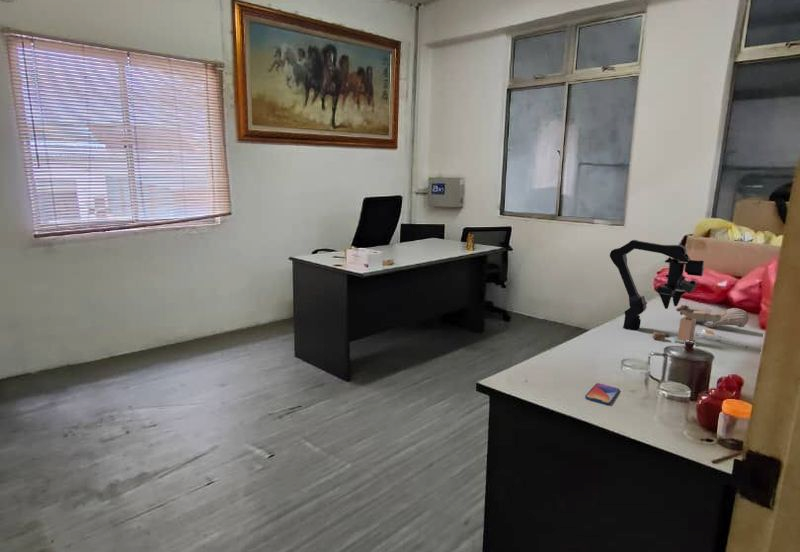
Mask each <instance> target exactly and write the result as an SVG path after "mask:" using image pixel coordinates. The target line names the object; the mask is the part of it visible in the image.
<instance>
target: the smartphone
mask: <svg viewBox="0 0 800 552" xmlns="http://www.w3.org/2000/svg"><path fill="white" fill-rule="evenodd" d="M619 393H620V388H618V387H615V386H611V385H607V384H603V383H595V385H593V386H592V387H591V388H590V390H589V391H588V392H587V393H586V395H584V398H585V400H587V401H591V402H595V403H599V404H601V405H604V406H605V405H606V406H610V405H611V404H612V403H613V401H614V400H615V398H616V397H617V396H618V394H619Z"/></svg>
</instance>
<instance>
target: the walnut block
mask: <svg viewBox="0 0 800 552" xmlns="http://www.w3.org/2000/svg"><path fill="white" fill-rule="evenodd" d="M665 334H666V333H664V332H662V331H661V332H660V331H653V334H652V339H653V341H658V342H665V340H666V337H665Z"/></svg>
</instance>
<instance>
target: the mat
mask: <svg viewBox="0 0 800 552" xmlns="http://www.w3.org/2000/svg"><path fill="white" fill-rule="evenodd" d="M673 338H674V343H675V344H681V345H684V344H683V343H684V341H681V340H678V339H677V338H678V335H677V336H676V335H674V336H673ZM693 342H695V345H696V346H697V342H696V339H694V338H693Z"/></svg>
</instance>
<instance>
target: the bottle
mask: <svg viewBox="0 0 800 552" xmlns="http://www.w3.org/2000/svg"><path fill="white" fill-rule="evenodd" d="M686 311H687V312H686V316H684V317H681V318H680V321H679V327H678V334H677V337H678V338H677V339H678V340H681V341H686V340H689V341H693V339H694V335H695V333H696V332H695V331H696V327H697V325H696V324H697V322H696V320H695V319H692V316H693V312H694V310H693V309H686Z"/></svg>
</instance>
